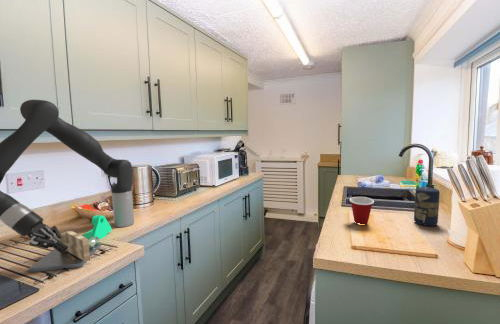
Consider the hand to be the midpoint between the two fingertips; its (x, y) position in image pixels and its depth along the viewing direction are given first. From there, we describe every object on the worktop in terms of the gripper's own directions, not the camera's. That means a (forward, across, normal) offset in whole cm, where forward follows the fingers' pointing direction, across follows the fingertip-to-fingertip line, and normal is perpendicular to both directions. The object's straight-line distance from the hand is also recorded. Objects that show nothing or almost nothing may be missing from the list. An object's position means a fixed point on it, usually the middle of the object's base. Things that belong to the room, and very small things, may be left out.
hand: (65, 250), depth 93 cm
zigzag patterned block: (+3, +5, +2) cm, 6 cm away
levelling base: (+2, +6, +5) cm, 9 cm away
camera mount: (+4, +26, +4) cm, 26 cm away
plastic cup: (+91, +13, -83) cm, 124 cm away
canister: (+111, +6, -104) cm, 152 cm away
